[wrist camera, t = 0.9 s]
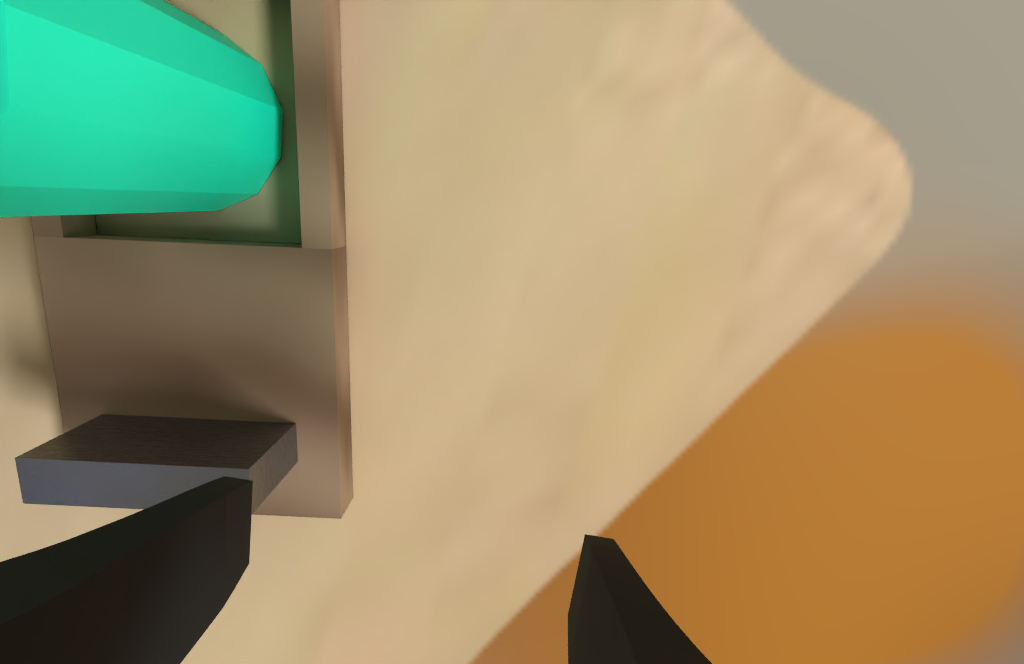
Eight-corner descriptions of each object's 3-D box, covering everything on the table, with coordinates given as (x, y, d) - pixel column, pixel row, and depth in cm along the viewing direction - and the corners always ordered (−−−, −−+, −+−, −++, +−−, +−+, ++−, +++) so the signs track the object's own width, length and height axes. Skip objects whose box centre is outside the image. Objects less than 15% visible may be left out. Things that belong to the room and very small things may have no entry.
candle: (88, 38, 18) (-671, -246, 7) (263, 13, 18) (-210, -330, 6) (138, 221, 20) (-422, 248, 8) (301, 200, 19) (-33, 197, 8)
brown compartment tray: (352, 497, 22) (304, 581, 17) (105, 485, 22) (-13, 565, 17) (337, -73, 17) (264, -180, 13) (24, -85, 18) (-167, -195, 13)
